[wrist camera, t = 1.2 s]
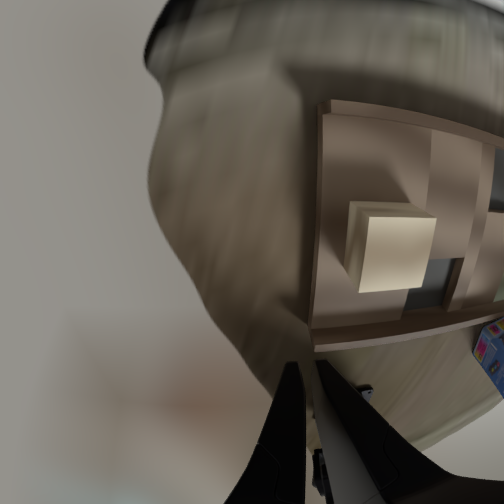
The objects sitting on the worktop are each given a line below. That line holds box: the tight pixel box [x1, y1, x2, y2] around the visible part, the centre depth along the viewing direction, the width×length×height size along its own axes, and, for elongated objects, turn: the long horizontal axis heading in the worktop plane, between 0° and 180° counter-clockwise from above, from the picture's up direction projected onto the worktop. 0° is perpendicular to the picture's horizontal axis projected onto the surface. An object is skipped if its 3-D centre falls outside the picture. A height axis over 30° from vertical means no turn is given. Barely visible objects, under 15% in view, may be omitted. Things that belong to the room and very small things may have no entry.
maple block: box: [343, 201, 437, 293], centre depth 17 cm, size 5×5×4 cm
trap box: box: [307, 99, 504, 352], centre depth 19 cm, size 18×29×4 cm, turn 92°
